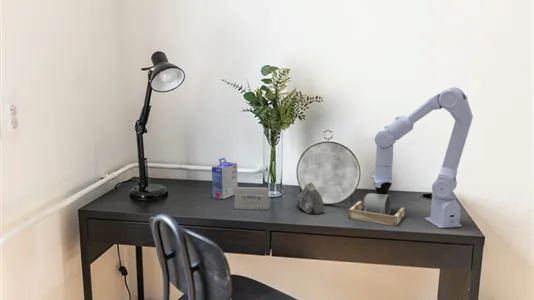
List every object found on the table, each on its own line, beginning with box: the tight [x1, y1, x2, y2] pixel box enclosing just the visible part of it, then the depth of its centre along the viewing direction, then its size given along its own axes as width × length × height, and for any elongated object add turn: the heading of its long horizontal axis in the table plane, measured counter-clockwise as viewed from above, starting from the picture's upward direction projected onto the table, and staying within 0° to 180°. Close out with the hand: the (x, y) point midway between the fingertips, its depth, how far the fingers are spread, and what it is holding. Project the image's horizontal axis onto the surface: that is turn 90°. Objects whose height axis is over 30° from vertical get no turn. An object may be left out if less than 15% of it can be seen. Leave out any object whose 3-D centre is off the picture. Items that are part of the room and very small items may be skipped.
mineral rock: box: [296, 182, 325, 215], centre depth 177 cm, size 13×11×10 cm
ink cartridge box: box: [211, 157, 239, 200], centre depth 192 cm, size 10×6×14 cm, turn 148°
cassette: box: [234, 186, 270, 210], centre depth 177 cm, size 12×2×8 cm, turn 89°
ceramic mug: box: [362, 192, 392, 215], centre depth 169 cm, size 11×8×8 cm
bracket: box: [347, 200, 405, 227], centre depth 169 cm, size 12×16×3 cm
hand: (381, 202), depth 174 cm, fingers closed, pressing on ceramic mug
